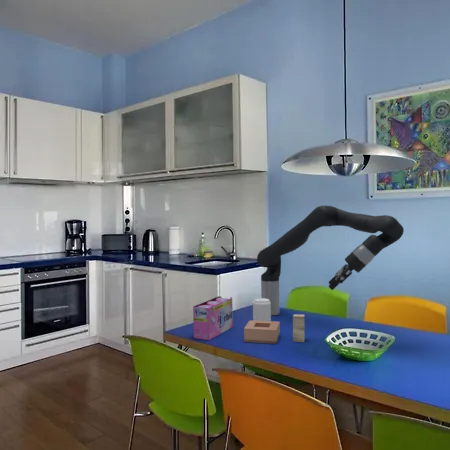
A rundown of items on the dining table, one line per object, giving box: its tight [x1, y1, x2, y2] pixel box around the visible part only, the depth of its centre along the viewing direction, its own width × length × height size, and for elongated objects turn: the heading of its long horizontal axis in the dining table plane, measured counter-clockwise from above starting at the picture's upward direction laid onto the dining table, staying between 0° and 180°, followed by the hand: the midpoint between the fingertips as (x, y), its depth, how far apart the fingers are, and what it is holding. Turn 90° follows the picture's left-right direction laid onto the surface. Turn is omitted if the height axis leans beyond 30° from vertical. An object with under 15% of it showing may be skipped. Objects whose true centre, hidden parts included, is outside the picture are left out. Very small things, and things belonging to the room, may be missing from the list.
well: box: [243, 319, 281, 345], centre depth 177 cm, size 13×13×6 cm
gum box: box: [192, 295, 234, 341], centre depth 188 cm, size 24×8×14 cm, turn 152°
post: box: [292, 314, 306, 343], centre depth 174 cm, size 4×4×10 cm
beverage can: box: [252, 297, 272, 321], centre depth 196 cm, size 8×8×12 cm
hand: (330, 286), depth 170 cm, fingers open, 8 cm apart
